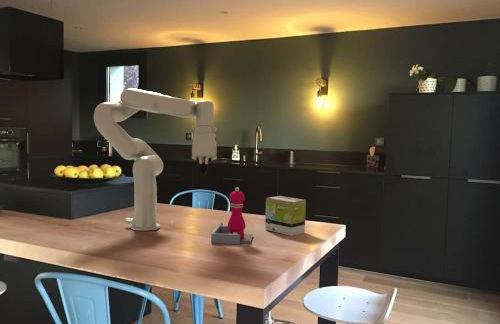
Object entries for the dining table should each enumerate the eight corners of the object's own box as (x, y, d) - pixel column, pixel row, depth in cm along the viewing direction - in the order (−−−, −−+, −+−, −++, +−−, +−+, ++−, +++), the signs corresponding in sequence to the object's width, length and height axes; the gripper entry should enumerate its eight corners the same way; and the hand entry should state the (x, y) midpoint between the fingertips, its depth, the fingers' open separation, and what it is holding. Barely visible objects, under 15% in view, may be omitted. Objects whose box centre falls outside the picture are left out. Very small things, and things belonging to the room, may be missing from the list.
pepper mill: (243, 239, 175) (244, 188, 174) (225, 238, 176) (226, 187, 175) (246, 235, 182) (247, 186, 181) (229, 234, 183) (230, 185, 182)
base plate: (219, 242, 174) (219, 232, 173) (224, 235, 186) (224, 225, 185) (250, 243, 173) (250, 233, 172) (252, 236, 185) (253, 227, 184)
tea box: (264, 230, 197) (264, 197, 196) (278, 227, 204) (279, 195, 203) (291, 236, 187) (292, 201, 186) (305, 232, 194) (306, 199, 193)
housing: (211, 242, 172) (211, 233, 172) (220, 230, 195) (220, 222, 195) (239, 243, 171) (239, 234, 171) (245, 230, 194) (245, 223, 194)
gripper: (223, 130, 193) (222, 173, 194) (189, 130, 195) (188, 172, 196) (220, 130, 186) (219, 174, 187) (185, 129, 187) (184, 173, 188)
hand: (204, 173), depth 191 cm, fingers closed
